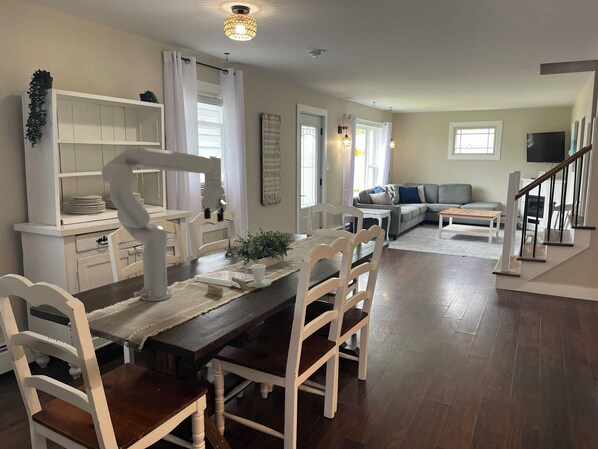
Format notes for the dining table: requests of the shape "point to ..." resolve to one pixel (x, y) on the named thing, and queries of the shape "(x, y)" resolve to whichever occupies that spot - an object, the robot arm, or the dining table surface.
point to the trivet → (265, 283)
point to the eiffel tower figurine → (230, 252)
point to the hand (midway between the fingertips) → (213, 220)
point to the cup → (257, 273)
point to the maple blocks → (219, 290)
